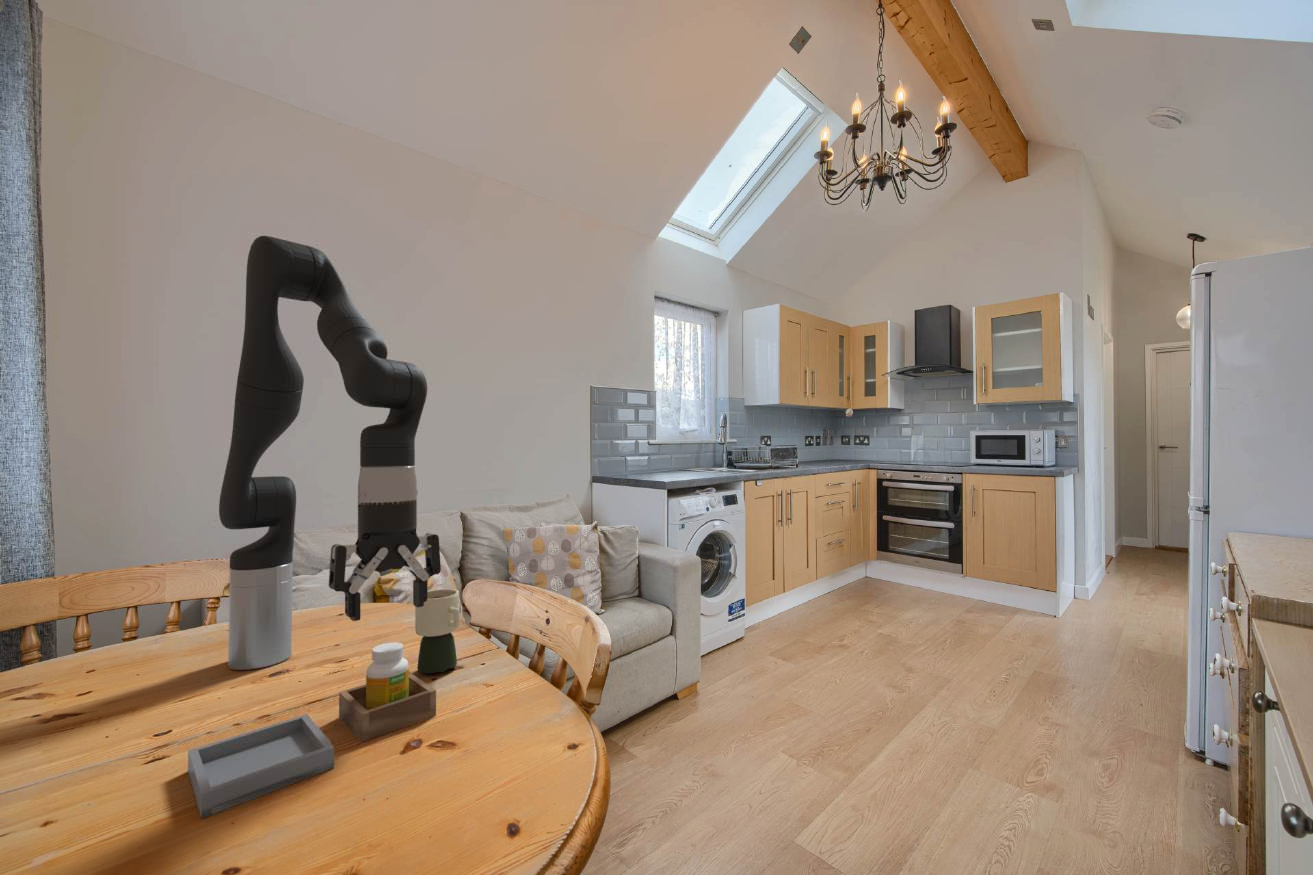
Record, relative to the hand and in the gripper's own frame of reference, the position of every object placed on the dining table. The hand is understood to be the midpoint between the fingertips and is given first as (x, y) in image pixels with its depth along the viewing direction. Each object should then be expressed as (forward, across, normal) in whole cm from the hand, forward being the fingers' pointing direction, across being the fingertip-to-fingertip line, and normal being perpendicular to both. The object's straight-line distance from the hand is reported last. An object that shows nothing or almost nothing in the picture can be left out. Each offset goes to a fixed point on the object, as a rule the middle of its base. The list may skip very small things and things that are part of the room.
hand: (387, 612), depth 76 cm
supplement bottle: (+15, 0, 0) cm, 15 cm away
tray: (+15, +15, +2) cm, 21 cm away
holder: (+14, 0, 0) cm, 15 cm away
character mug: (+15, -12, -11) cm, 22 cm away
